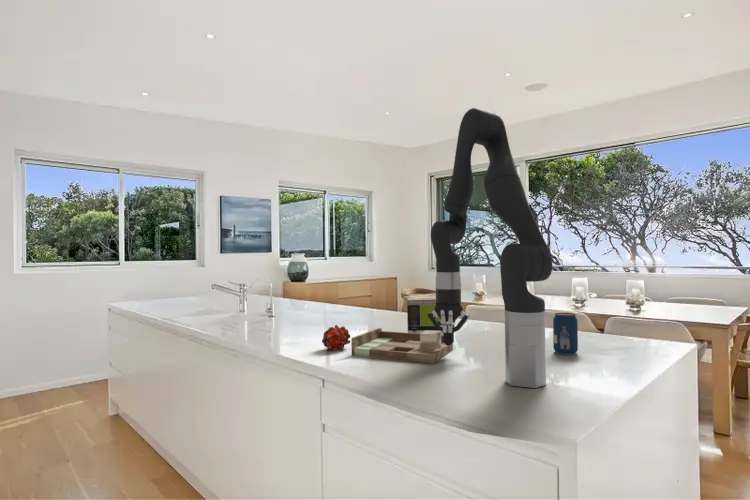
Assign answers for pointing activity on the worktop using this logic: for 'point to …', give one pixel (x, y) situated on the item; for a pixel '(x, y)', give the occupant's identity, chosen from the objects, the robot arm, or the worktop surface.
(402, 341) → the trap board
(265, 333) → the worktop surface
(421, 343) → the birch block
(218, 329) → the worktop surface
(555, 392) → the worktop surface
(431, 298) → the tea box
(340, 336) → the dragon fruit
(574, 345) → the soda can
